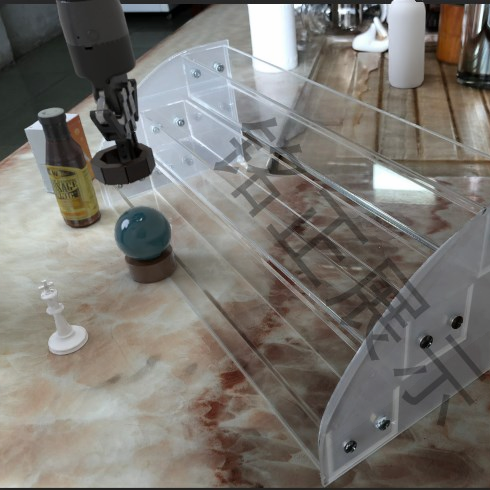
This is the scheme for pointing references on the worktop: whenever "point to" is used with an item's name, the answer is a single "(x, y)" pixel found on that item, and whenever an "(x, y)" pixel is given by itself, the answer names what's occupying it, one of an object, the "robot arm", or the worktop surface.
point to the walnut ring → (122, 165)
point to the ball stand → (145, 244)
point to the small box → (39, 145)
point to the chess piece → (61, 324)
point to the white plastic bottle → (406, 43)
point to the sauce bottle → (68, 170)
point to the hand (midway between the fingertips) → (131, 159)
